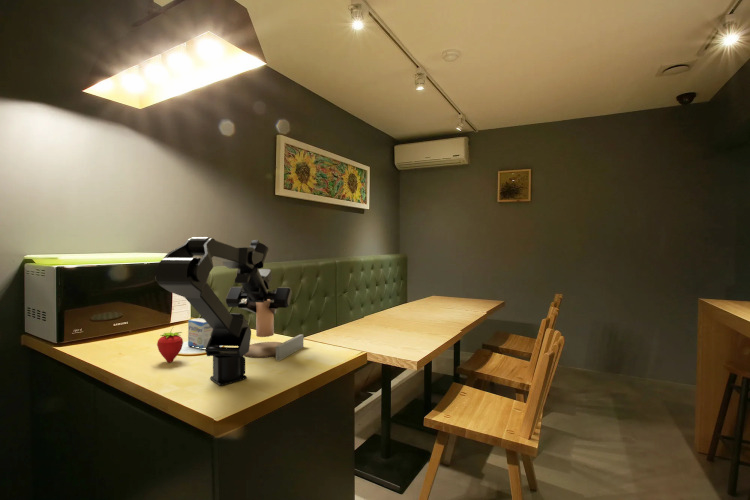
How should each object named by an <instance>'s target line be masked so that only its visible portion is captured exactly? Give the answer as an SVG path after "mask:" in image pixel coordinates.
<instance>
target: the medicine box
mask: <svg viewBox="0 0 750 500" xmlns="http://www.w3.org/2000/svg"><path fill="white" fill-rule="evenodd" d="M187 326H188V328H187V329H188V331H187V346H188V347H189V346H194V347H199V348H206V347H207V344H208V342H209V340H210V337H211V333H212V330H213V329H212V327H211V326H210V325H209V324H208V323H207V322H206V321H205V320H204V318H202V317H201V318H199V317H198V318H192V319H189V320H188V321H187Z"/></svg>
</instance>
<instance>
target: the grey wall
mask: <svg viewBox="0 0 750 500" xmlns="http://www.w3.org/2000/svg"><path fill="white" fill-rule="evenodd" d="M303 348H304V334H298V335H296V336H294V337H292V338H290V339H287V340H285V341H284V342H281V344H279V345H277V346H276V356H275V361H282V360H283V359H285V358H287V357H289V356H291V355H292V354H294V353H296V352H298V351H299V350H301V349H303Z"/></svg>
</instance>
